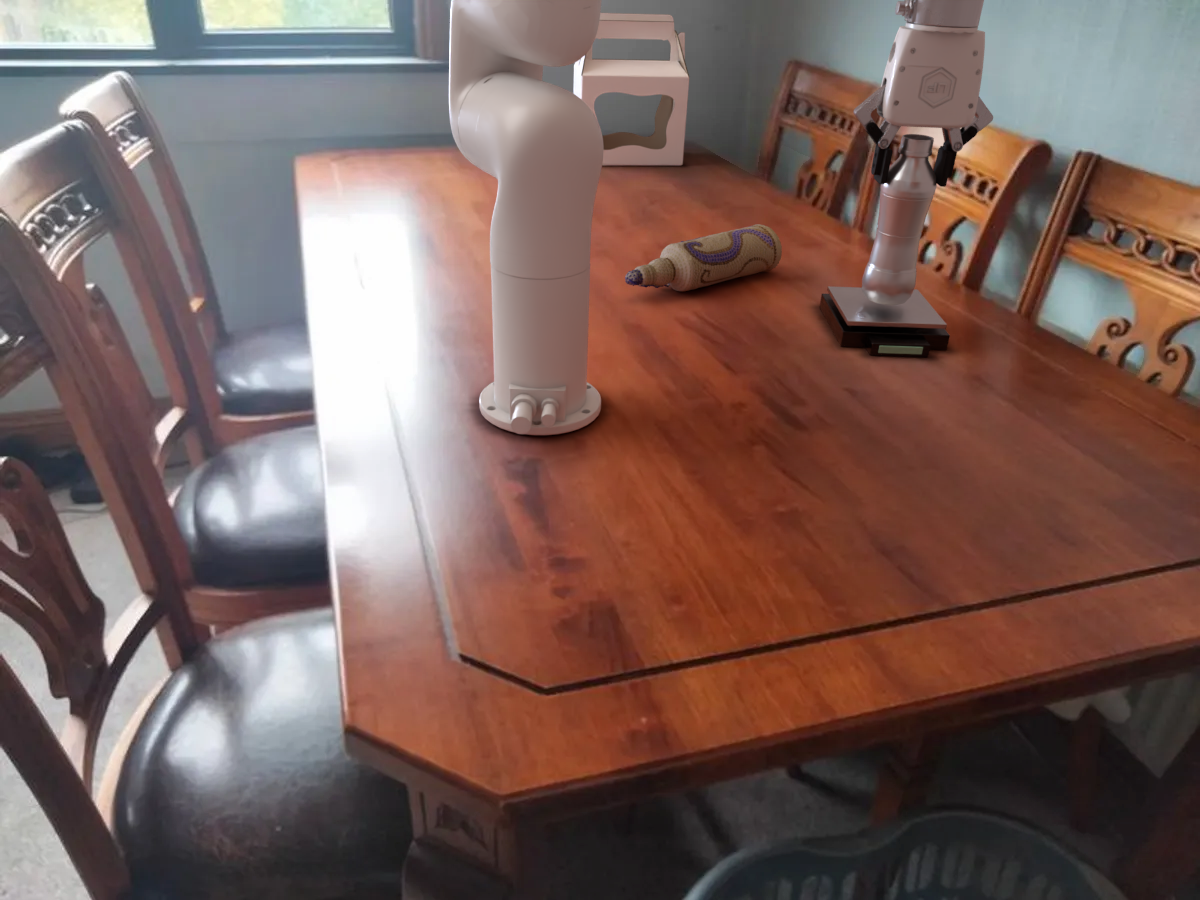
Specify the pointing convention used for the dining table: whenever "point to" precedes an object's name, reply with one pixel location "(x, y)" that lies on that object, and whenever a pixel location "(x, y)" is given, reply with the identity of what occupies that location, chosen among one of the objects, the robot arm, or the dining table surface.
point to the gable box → (640, 89)
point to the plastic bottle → (900, 223)
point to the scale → (884, 323)
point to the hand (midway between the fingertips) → (909, 181)
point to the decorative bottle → (711, 259)
